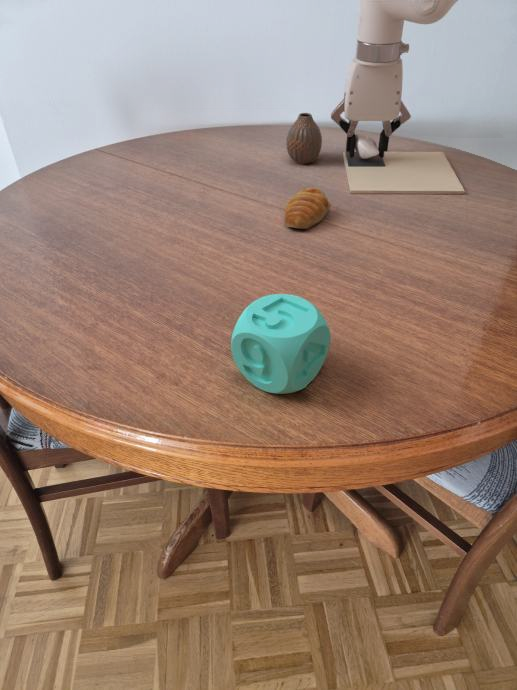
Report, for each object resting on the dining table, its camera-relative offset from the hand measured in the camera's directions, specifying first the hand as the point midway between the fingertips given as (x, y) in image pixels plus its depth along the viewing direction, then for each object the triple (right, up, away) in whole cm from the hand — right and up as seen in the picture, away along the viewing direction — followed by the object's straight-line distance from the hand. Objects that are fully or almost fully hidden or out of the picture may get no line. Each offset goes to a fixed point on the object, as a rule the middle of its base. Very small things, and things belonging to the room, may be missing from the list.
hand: (366, 154), depth 106 cm
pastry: (-13, -16, -16) cm, 26 cm away
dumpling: (0, -1, 0) cm, 1 cm away
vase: (-12, -1, +3) cm, 12 cm away
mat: (+6, -5, -3) cm, 8 cm away
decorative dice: (-18, -40, -43) cm, 62 cm away
